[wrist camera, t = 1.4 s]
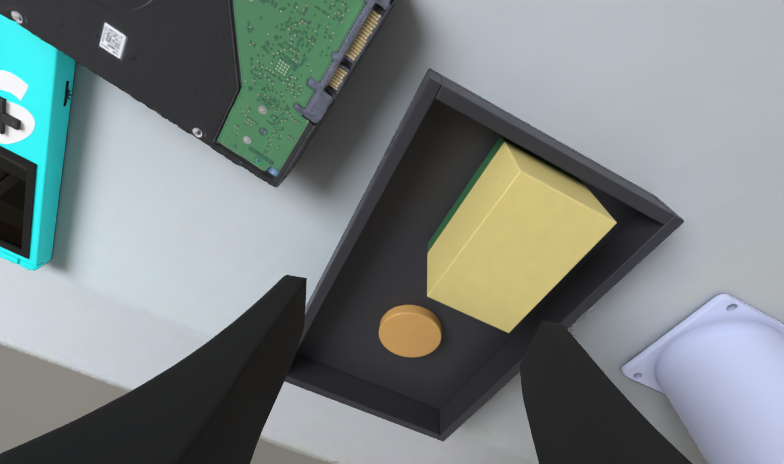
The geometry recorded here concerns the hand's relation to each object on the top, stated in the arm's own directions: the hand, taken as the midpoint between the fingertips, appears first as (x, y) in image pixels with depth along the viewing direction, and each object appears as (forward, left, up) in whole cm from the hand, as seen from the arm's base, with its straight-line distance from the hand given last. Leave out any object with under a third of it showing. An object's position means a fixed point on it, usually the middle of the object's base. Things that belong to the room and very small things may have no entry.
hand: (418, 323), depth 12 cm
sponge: (-4, -1, -9) cm, 10 cm away
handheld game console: (+23, +8, -10) cm, 27 cm away
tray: (-4, +5, -10) cm, 12 cm away
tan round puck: (-4, +9, -9) cm, 13 cm away
